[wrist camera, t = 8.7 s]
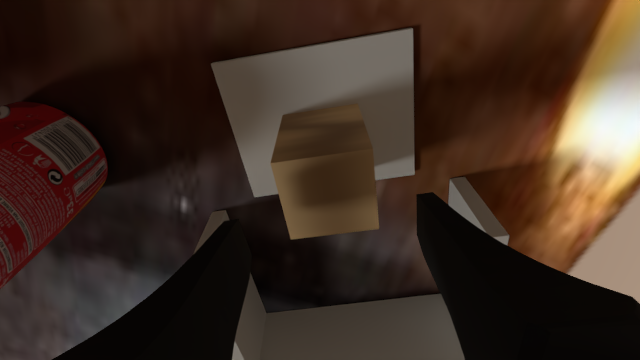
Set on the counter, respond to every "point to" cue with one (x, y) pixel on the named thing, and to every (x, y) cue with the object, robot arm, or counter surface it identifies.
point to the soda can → (42, 178)
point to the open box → (359, 313)
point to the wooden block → (325, 172)
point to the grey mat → (323, 98)
